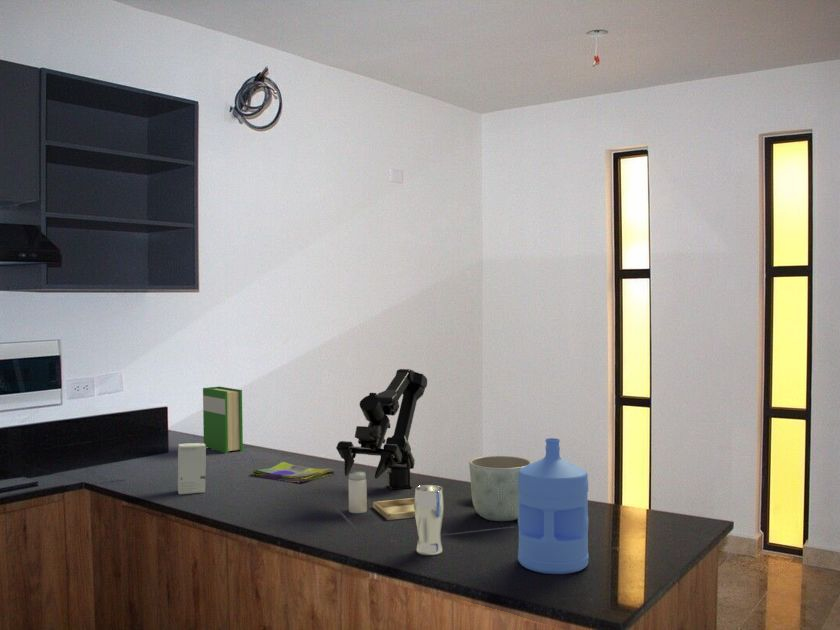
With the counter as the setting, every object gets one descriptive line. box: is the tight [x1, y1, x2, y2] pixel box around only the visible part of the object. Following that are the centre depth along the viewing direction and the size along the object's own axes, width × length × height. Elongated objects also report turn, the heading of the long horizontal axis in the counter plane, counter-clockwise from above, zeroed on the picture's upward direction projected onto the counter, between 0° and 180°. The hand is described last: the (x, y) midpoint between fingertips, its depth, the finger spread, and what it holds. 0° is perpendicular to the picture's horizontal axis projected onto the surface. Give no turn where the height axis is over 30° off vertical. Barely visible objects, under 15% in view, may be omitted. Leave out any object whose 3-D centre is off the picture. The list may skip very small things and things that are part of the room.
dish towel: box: [250, 461, 335, 484], centre depth 272 cm, size 18×24×3 cm
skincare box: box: [177, 442, 207, 495], centre depth 250 cm, size 8×6×15 cm
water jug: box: [517, 437, 590, 575], centre depth 180 cm, size 16×16×28 cm
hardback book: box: [202, 386, 244, 454], centre depth 318 cm, size 18×7×24 cm, turn 43°
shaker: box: [348, 471, 368, 514], centre depth 224 cm, size 5×5×11 cm
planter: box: [468, 455, 533, 522], centre depth 218 cm, size 17×17×15 cm
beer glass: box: [414, 484, 445, 556], centre depth 190 cm, size 7×7×15 cm
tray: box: [372, 497, 415, 521], centre depth 223 cm, size 14×14×2 cm
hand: (360, 476), depth 226 cm, fingers open, 9 cm apart
